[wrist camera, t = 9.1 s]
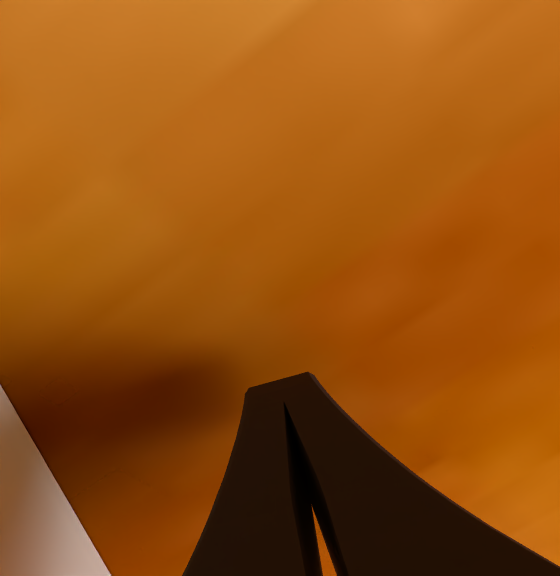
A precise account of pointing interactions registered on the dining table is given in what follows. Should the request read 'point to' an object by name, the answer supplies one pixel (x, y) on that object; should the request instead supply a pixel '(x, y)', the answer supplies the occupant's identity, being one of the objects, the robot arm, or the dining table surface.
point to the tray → (37, 512)
